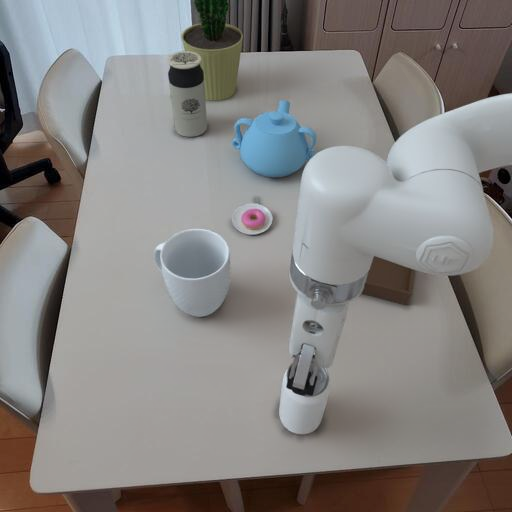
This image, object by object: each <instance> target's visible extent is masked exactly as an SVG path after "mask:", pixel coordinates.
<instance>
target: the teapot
mask: <svg viewBox="0 0 512 512" xmlns="http://www.w3.org/2000/svg"><path fill="white" fill-rule="evenodd" d="M278 102H279V103H278V106H277V107H278V108H277V110H271V111H267V112H266V111H265V112H263V113H261V114H259V115H257V116H256V117H255V118H254V119H251V118H249V117H242V118H238V120H236V122H235V123H234V132H235V136H236V137H234V138H233V139H232V141H231V145H232V148H234V149H236V150H239V152H240V153H239V154H240V158H241V160H242V163H244V164H245V166H246V167H247V168H249V169H250V170H251V171H253V172H254V173H256V174H257V175H260V176H263V177H267V178H283V177H287V176H290V175H292V174H294V173H296V172H297V171H299V170H300V169H301V168H303V166H304V165H306V162H309V160H310V159H311V158H312V157H313V156H314V155H315V154H317V153H318V152H317V151H315V150H313V149H314V147H315V145H316V142H317V133H316V131H315V130H314V129H312V128H310V127H308V126H301V125H300V124H299V122H298V120H297V119H296V118H295V117H294V116H293V115H291V114H290V105H291V102H290V101H287V100H279V101H278ZM241 125H247V126H248V127H247V129H246V130H245V132H244V134H242V130H241ZM306 135H308V136H310V138H311V141H310V144H308V139H307V136H306Z"/></svg>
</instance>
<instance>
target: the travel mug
mask: <svg viewBox="0 0 512 512" xmlns="http://www.w3.org/2000/svg"><path fill="white" fill-rule="evenodd" d="M201 60H202V59H201V56H200V55H199V54H197V53H195V52H191V51H185V50H183V51H182V50H180V51H176V52H173V53H172V54H170V55H169V56H168V58H167V60H166V61H167V64H168V65H169V69H168V72H167V78H168V84H169V92H170V102H171V109H172V116H173V124H174V130H175V132H176V133H177V134H178V135H180V136H183V137H189V138H191V137H197V136H200V135H203V134H204V133H205V132H206V131H207V129H208V117H207V103H206V102H207V100H206V99H205V87H204V72H203V70H202V68H201V66H200V63H201Z"/></svg>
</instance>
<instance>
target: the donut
mask: <svg viewBox="0 0 512 512" xmlns="http://www.w3.org/2000/svg"><path fill="white" fill-rule="evenodd" d="M256 201H257V202H256V203H246V204H243V205H241V206H239V207H237V208H236V209H235V210H234V212H233V213H232V216H231V222H232V225H233V227H234V228H235V229H236V230H237V231H238V232H240V233H242V234H245V235H248V236H249V235H250V236H254V235H259V234H262V233H264V232H266V231H268V230H269V228H271V226H272V224H273V215H272V212H271V211H270V209H269V208H268V207H266V206H265V205H263V204H259V200H258V198H256Z"/></svg>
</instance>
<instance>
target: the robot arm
mask: <svg viewBox="0 0 512 512" xmlns="http://www.w3.org/2000/svg"><path fill="white" fill-rule="evenodd" d="M316 153H317V154H315V155H314V156H313V155H312V156H313V157H312V158H311V159H310V160H309V161H307V163H305V166H304V169H303V171H302V175H301V178H300V187H299V194H298V202H297V211H296V217H295V227H294V234H293V241H292V242H293V243H292V250H291V257H290V266H289V273H288V274H289V281H290V283H291V285H292V287H293V289H294V290H295V292H296V299H295V304H294V311H293V316H292V323H291V331H290V336H289V337H290V338H289V346H288V354H289V355H290V357H291V358H292V359H293V360H292V363H293V364H292V363H291V364H292V368H290V370H289V374H288V380H287V386H286V387H287V388H288V389H290V390H292V391H293V392H294V393H295V394H298V395H302V396H304V395H310V396H312V395H313V393H314V389H315V385H316V381H317V378H318V376H316V372H317V368H318V365H319V366H320V367H323V368H326V369H329V368H330V367H331V366H333V363H334V360H335V356H336V352H337V349H338V345H339V342H340V338H341V335H342V331H343V328H344V324H345V321H346V318H347V314H348V310H349V306H350V303H352V302H353V301H355V300H356V299H357V298H359V297H360V296H361V295H362V294H361V293H362V291H363V289H364V286H365V283H366V280H367V276H368V273H369V270H370V267H371V264H372V260H373V257H374V256H376V257H379V258H382V259H385V260H388V261H390V262H393V263H396V264H399V265H402V266H405V267H407V268H410V269H413V270H415V271H417V272H420V273H424V274H429V275H435V276H443V277H445V276H446V277H447V276H448V277H450V276H451V277H452V276H459V275H463V274H467V273H470V272H472V271H474V270H476V269H478V268H479V267H481V266H482V265H483V264H484V263H485V262H486V261H487V259H488V258H489V256H490V254H491V252H492V251H493V246H494V239H495V238H494V227H493V222H492V219H491V215H490V211H489V208H488V204H487V200H486V197H485V194H484V193H485V192H484V187H483V184H482V181H481V177H480V173H483V172H487V171H490V170H493V169H498V168H502V167H506V166H512V92H510V93H504V94H499V95H494V96H490V97H486V98H482V99H480V100H476V101H474V102H471V103H468V104H466V105H463V106H460V107H457V108H454V109H452V110H449V111H446V112H442V113H440V114H437V115H435V116H432V117H430V118H428V119H426V120H423V121H421V122H420V123H418V124H416V125H414V126H413V127H410V128H409V129H408V130H407V131H406V132H404V133H403V134H401V135H400V136H399V137H398V138H397V139H396V141H394V143H393V144H392V146H391V148H390V150H389V151H388V155H387V158H386V161H385V160H384V159H383V158H382V157H381V156H379V155H377V153H375V152H372V151H370V150H368V149H365V148H362V147H359V146H354V145H337V146H331V147H327V148H325V149H322V150H320V151H319V152H316ZM298 361H299V363H298ZM311 363H313V364H314V365H313V369H312V373H311V372H310V371H309V369H310V365H311ZM297 365H298V367H297Z"/></svg>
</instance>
